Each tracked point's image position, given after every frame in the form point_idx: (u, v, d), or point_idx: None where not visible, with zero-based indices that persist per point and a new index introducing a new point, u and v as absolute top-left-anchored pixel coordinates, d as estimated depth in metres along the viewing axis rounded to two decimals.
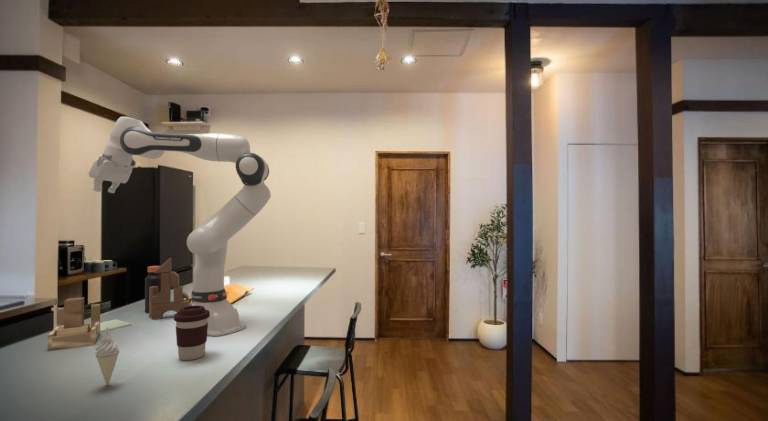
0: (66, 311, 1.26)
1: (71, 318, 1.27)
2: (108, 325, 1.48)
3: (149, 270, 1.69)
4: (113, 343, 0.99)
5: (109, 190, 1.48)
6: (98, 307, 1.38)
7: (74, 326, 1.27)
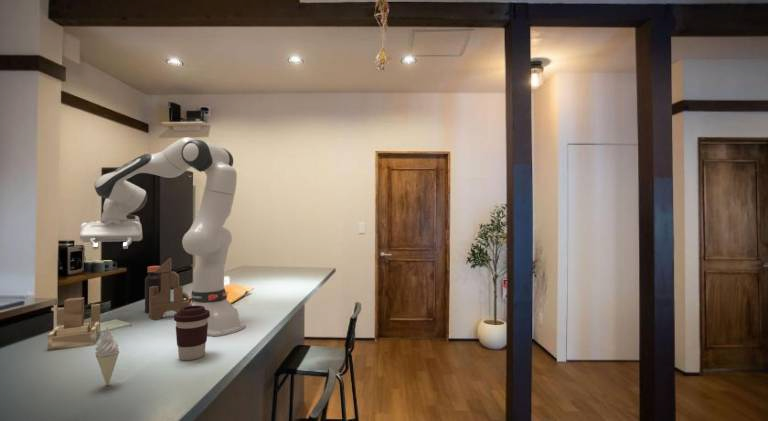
0: (66, 311, 1.26)
1: (71, 318, 1.27)
2: (108, 325, 1.48)
3: (149, 270, 1.69)
4: (113, 343, 0.99)
5: (123, 246, 1.49)
6: (98, 307, 1.38)
7: (74, 326, 1.27)
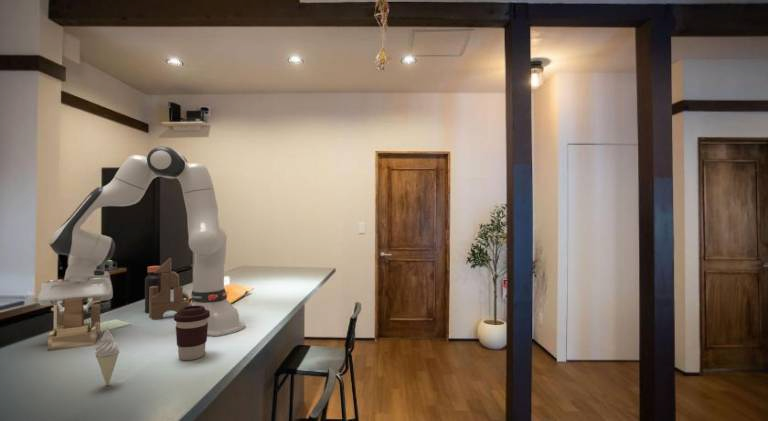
0: (66, 311, 1.26)
1: (71, 318, 1.27)
2: (108, 325, 1.48)
3: (149, 270, 1.69)
4: (113, 343, 0.99)
5: None
6: (98, 307, 1.38)
7: (74, 326, 1.27)
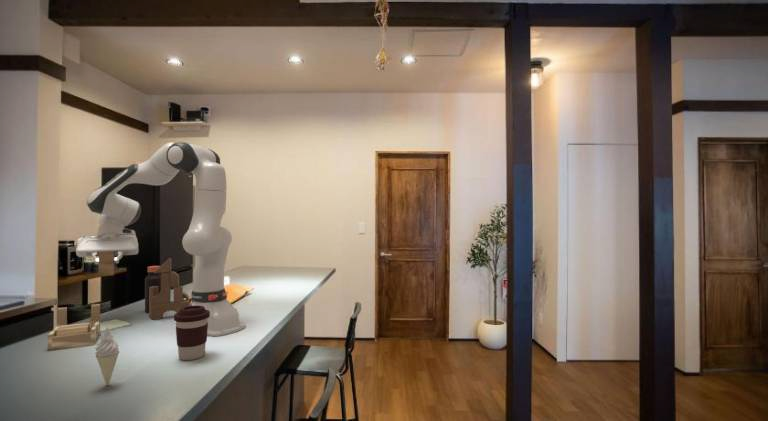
0: (100, 261, 1.46)
1: (104, 267, 1.46)
2: (108, 325, 1.48)
3: (149, 270, 1.69)
4: (113, 343, 0.99)
5: (114, 261, 1.50)
6: (98, 307, 1.38)
7: (107, 274, 1.47)
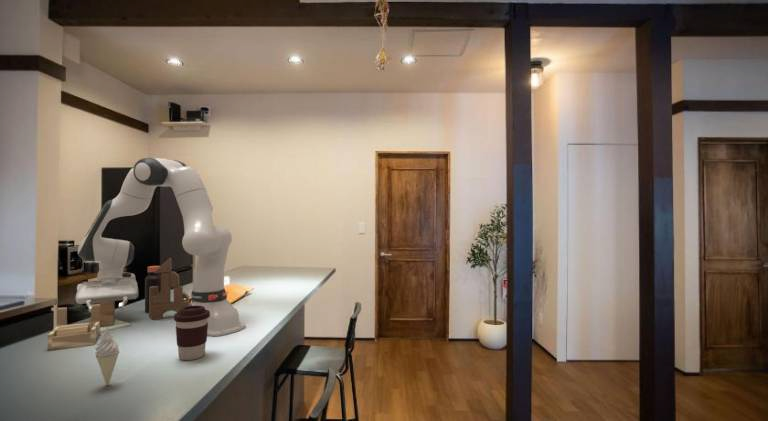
0: (100, 312, 1.46)
1: (104, 318, 1.46)
2: None
3: (149, 270, 1.69)
4: (113, 343, 0.99)
5: (119, 307, 1.51)
6: (98, 307, 1.38)
7: (107, 325, 1.47)
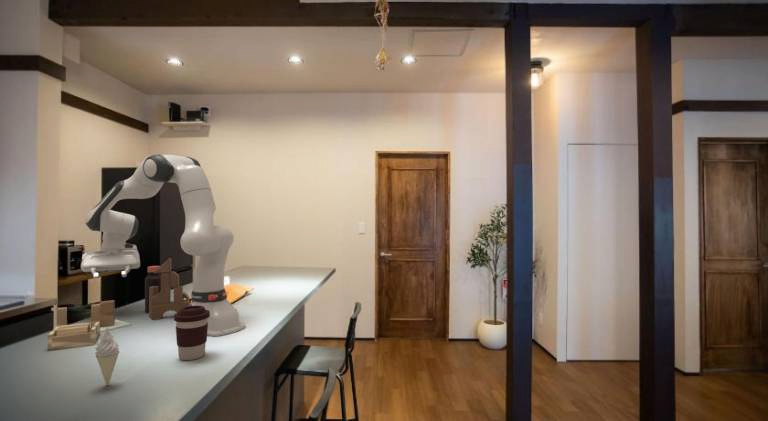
0: (100, 312, 1.46)
1: (104, 318, 1.46)
2: None
3: (149, 270, 1.69)
4: (113, 343, 0.99)
5: (122, 275, 1.59)
6: (98, 307, 1.38)
7: (107, 325, 1.47)
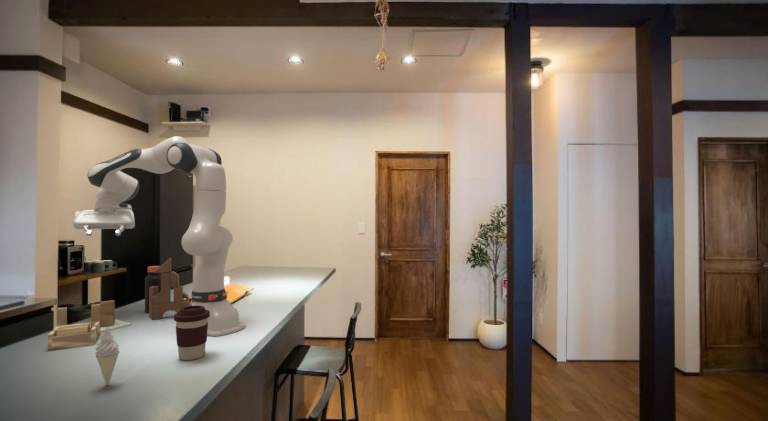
0: (100, 312, 1.46)
1: (104, 318, 1.46)
2: None
3: (149, 270, 1.69)
4: (113, 343, 0.99)
5: (116, 233, 1.54)
6: (98, 307, 1.38)
7: (107, 325, 1.47)
